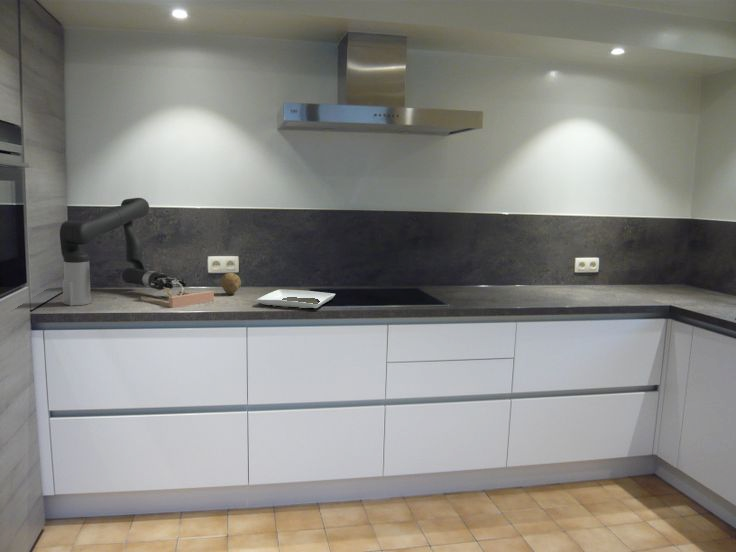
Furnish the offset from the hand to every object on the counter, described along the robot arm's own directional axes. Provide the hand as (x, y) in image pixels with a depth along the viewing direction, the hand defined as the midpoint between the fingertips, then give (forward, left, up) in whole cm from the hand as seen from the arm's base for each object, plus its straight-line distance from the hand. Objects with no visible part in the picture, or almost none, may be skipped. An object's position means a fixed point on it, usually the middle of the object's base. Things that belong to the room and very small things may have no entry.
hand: (178, 285), depth 252 cm
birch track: (0, +2, -7) cm, 7 cm away
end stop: (0, -9, -7) cm, 11 cm away
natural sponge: (+26, -3, -7) cm, 27 cm away
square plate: (+33, -38, -7) cm, 51 cm away
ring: (0, +3, -6) cm, 7 cm away
